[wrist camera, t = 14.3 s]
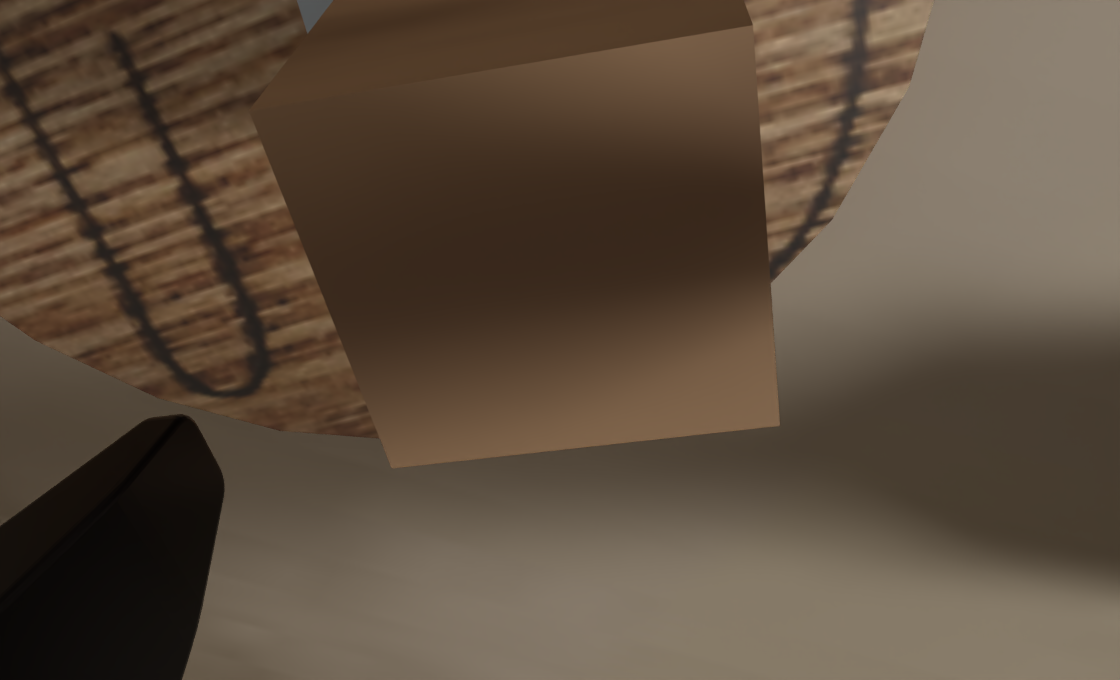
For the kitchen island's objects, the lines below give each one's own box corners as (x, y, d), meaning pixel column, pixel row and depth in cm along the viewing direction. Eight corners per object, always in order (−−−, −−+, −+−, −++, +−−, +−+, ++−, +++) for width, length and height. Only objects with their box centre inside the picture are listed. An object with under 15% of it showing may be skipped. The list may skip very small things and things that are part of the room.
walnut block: (736, 224, 16) (779, 426, 12) (444, 265, 16) (391, 468, 12) (707, -96, 13) (752, 25, 9) (355, -29, 14) (248, 110, 9)
